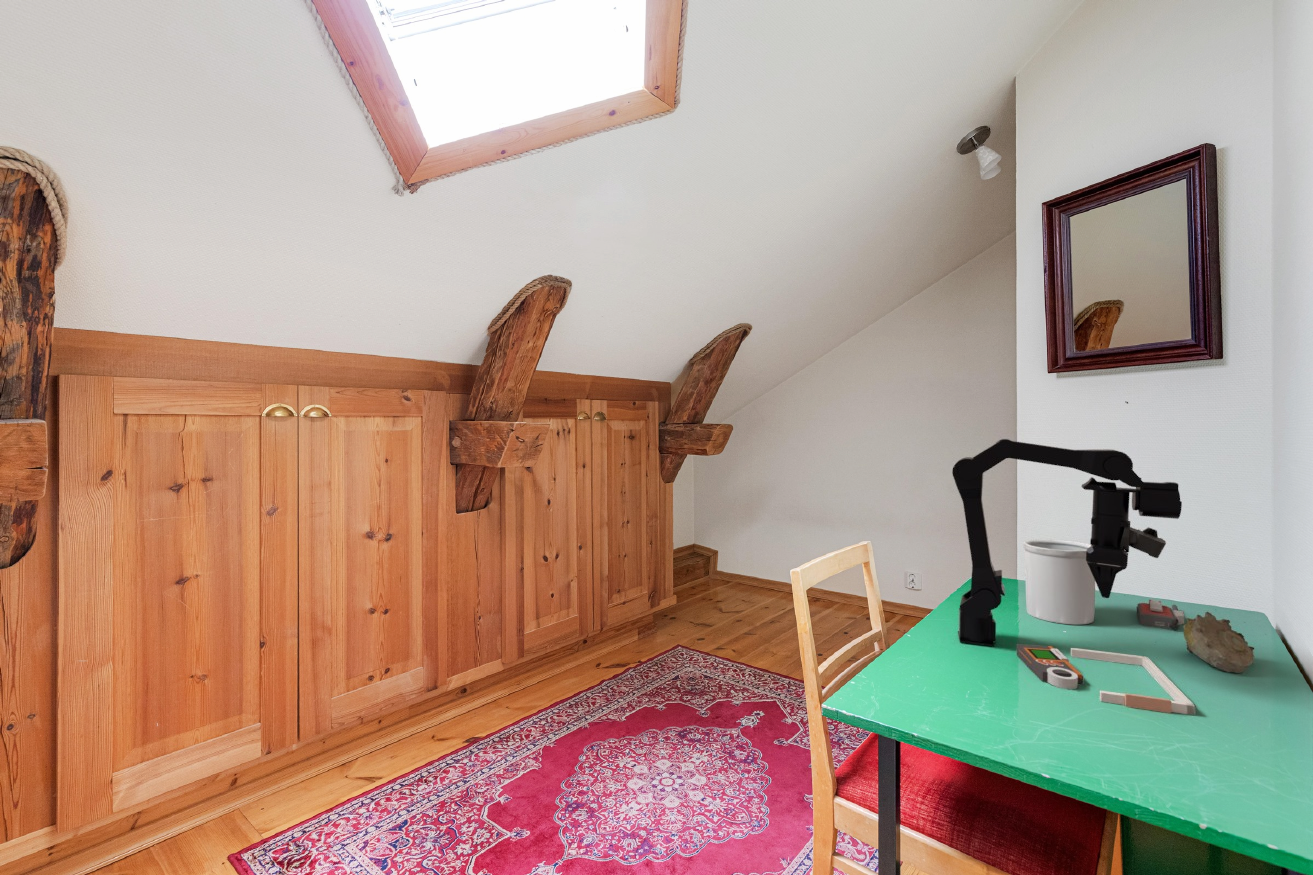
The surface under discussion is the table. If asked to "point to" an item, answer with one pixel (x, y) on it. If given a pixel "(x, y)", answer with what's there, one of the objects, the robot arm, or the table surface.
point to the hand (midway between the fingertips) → (1106, 592)
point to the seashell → (1218, 643)
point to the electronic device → (1050, 665)
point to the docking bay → (1138, 701)
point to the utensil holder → (1059, 581)
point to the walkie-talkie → (1159, 615)
